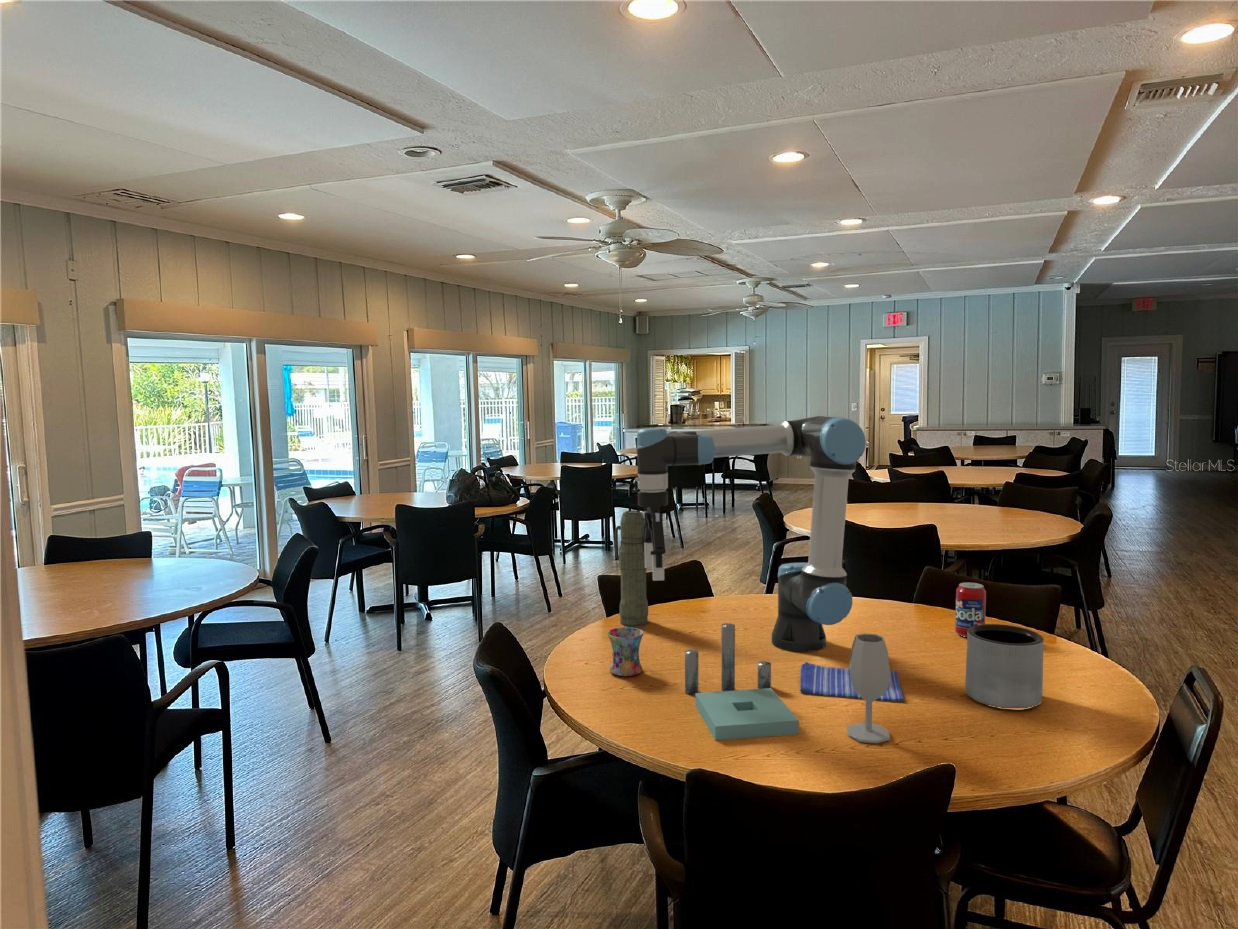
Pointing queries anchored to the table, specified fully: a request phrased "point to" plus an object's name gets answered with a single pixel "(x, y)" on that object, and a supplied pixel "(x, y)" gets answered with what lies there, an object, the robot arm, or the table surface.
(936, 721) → the table surface
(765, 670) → the short pin
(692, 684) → the medium pin
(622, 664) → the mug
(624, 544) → the thermos
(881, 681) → the wineglass
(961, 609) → the soda can
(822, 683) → the dish towel
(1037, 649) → the planter
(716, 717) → the hole block
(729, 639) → the long pin
